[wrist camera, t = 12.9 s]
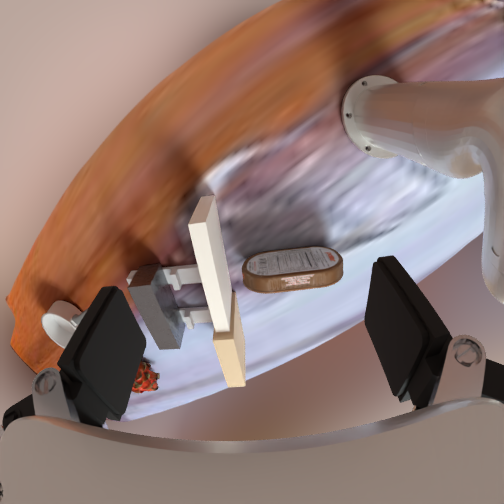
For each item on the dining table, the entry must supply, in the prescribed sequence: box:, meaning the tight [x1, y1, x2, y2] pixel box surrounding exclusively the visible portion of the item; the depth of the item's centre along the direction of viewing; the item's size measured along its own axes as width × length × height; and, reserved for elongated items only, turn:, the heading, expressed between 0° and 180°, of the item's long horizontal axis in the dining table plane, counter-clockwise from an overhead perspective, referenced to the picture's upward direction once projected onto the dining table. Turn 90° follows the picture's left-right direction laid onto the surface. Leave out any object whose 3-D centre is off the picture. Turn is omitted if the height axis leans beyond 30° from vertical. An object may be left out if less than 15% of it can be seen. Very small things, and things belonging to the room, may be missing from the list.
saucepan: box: [41, 301, 88, 348], centre depth 46 cm, size 12×20×6 cm, turn 123°
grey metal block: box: [128, 263, 185, 350], centre depth 44 cm, size 4×14×6 cm, turn 9°
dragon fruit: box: [132, 361, 160, 393], centre depth 54 cm, size 8×8×12 cm
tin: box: [242, 246, 343, 294], centre depth 39 cm, size 15×3×8 cm, turn 97°
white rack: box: [127, 195, 245, 387], centre depth 41 cm, size 18×30×11 cm, turn 6°
